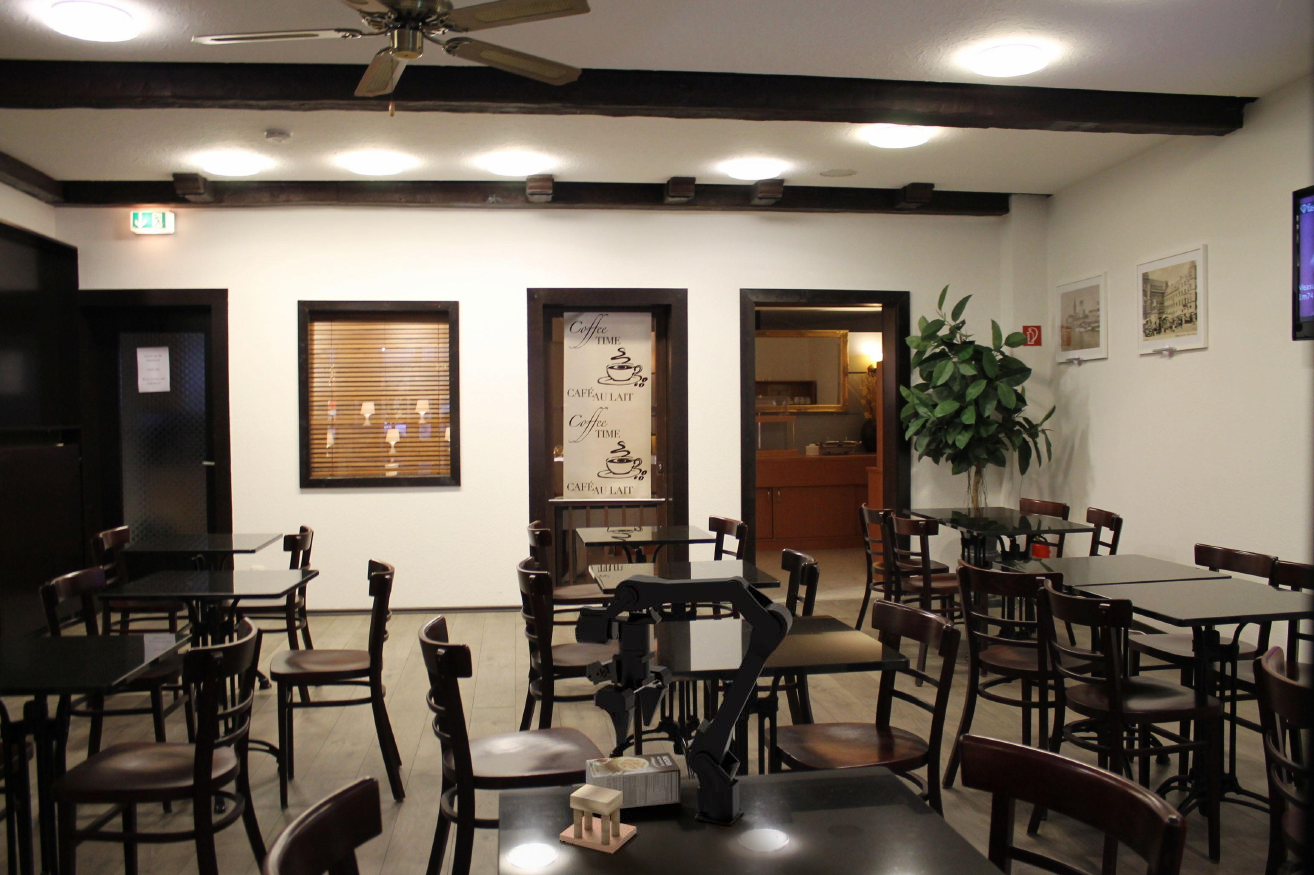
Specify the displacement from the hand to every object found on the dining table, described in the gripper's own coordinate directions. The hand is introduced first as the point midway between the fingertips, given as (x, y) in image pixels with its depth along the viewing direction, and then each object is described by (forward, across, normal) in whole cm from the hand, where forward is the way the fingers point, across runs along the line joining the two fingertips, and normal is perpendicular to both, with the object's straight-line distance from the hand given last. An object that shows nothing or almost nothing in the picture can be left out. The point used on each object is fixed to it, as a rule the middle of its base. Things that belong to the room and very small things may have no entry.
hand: (634, 734), depth 159 cm
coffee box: (+10, +2, -8) cm, 13 cm away
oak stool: (+12, +15, +1) cm, 19 cm away
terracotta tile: (+13, +13, 0) cm, 18 cm away
